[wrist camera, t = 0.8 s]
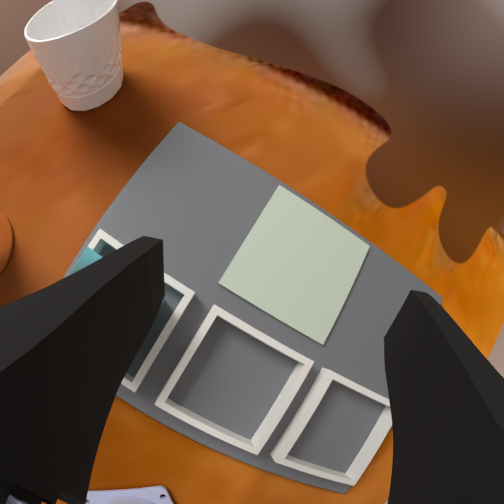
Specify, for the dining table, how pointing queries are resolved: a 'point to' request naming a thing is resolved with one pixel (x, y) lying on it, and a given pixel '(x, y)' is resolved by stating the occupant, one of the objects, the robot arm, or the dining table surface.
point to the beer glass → (5, 241)
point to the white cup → (78, 50)
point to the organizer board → (258, 315)
